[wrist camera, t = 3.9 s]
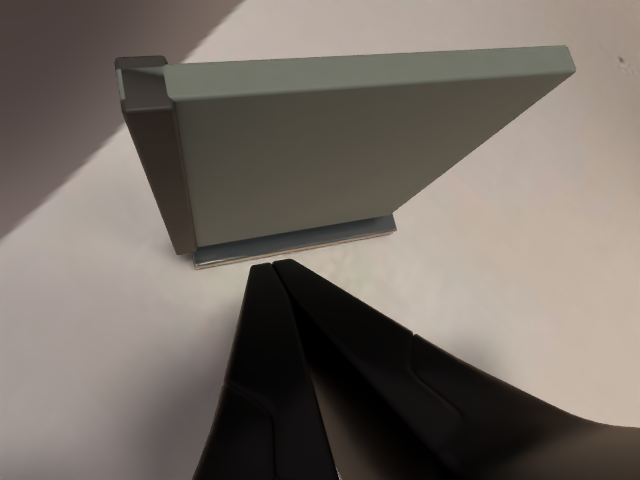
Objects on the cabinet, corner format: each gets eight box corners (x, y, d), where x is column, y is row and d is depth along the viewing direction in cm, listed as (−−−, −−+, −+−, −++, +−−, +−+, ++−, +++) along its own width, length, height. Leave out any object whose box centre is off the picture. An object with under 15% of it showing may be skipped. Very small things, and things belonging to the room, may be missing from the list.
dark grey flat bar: (391, 234, 18) (397, 230, 17) (195, 270, 15) (194, 267, 15) (382, 198, 18) (387, 193, 17) (187, 228, 16) (187, 223, 15)
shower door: (391, 218, 16) (582, 78, 8) (176, 255, 14) (121, 113, 6) (385, 197, 17) (565, 36, 8) (172, 230, 14) (113, 55, 6)
